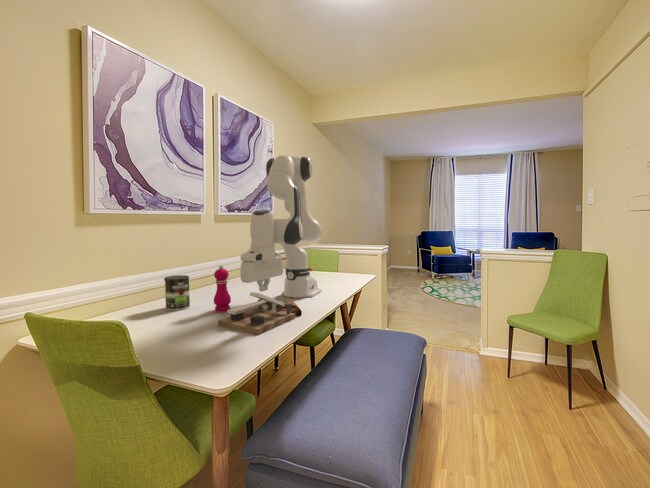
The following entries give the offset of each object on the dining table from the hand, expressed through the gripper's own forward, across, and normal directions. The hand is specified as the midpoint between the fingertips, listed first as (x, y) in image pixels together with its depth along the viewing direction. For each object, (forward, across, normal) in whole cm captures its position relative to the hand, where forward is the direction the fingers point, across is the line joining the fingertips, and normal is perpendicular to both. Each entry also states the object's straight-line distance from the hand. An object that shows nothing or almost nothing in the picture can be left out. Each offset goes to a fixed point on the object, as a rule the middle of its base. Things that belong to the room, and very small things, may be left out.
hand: (263, 290), depth 128 cm
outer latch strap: (+5, -3, 0) cm, 6 cm away
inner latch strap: (+9, -3, -10) cm, 14 cm away
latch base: (+13, -2, -5) cm, 14 cm away
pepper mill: (+14, -7, -30) cm, 34 cm away
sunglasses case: (+14, -20, -4) cm, 25 cm away
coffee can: (+14, 0, -51) cm, 53 cm away
